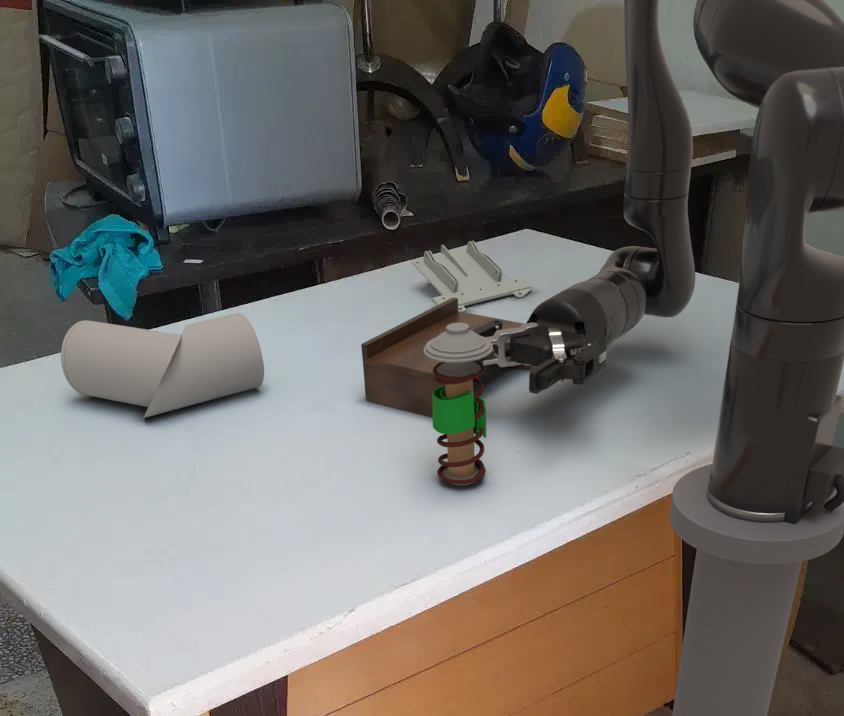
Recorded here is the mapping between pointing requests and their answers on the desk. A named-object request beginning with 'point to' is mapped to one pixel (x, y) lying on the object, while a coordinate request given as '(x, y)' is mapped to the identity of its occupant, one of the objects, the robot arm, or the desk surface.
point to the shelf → (414, 358)
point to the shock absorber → (459, 401)
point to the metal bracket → (468, 276)
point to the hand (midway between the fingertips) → (495, 375)
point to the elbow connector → (163, 362)
